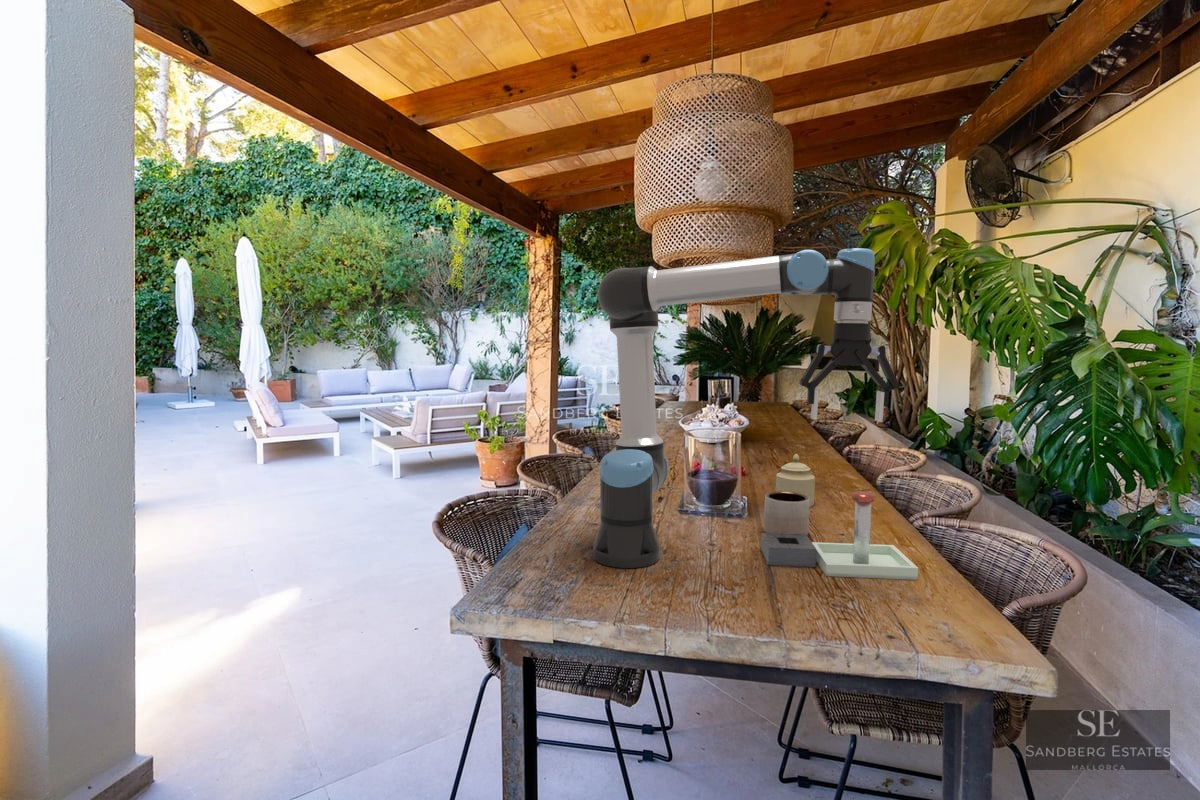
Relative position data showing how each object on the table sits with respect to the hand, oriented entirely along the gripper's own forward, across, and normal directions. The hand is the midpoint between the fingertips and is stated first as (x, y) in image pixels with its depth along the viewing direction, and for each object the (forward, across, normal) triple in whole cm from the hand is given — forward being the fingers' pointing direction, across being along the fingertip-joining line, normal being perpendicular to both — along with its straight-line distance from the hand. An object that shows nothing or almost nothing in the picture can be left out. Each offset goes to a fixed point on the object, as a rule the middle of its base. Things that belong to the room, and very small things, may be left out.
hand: (846, 420), depth 135 cm
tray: (+31, +4, -4) cm, 32 cm away
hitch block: (+31, -11, -2) cm, 33 cm away
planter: (+32, -9, +16) cm, 37 cm away
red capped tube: (+30, +4, -4) cm, 31 cm away
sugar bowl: (+32, -2, +48) cm, 57 cm away
